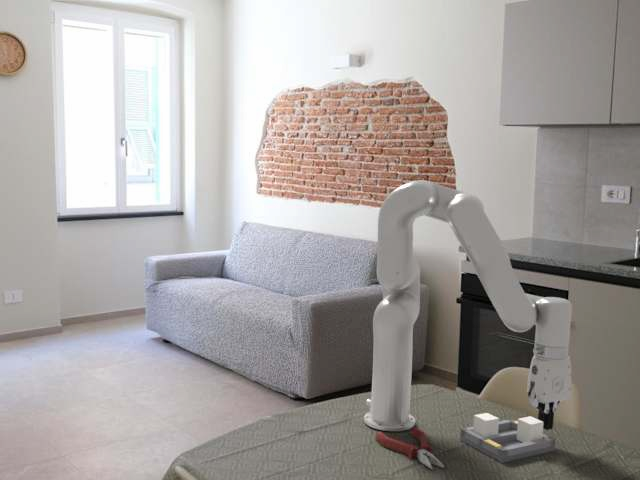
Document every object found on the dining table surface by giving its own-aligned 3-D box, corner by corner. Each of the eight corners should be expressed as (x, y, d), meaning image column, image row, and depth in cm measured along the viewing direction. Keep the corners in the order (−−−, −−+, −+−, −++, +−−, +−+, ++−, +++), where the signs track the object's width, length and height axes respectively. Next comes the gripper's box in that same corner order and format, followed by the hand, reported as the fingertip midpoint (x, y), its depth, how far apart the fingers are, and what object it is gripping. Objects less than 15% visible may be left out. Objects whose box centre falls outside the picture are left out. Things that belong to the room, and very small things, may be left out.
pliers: (414, 476, 155) (414, 464, 154) (373, 440, 173) (373, 429, 173) (461, 470, 159) (462, 458, 159) (416, 435, 177) (417, 425, 177)
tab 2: (516, 439, 172) (518, 418, 172) (529, 436, 174) (530, 416, 173) (529, 445, 169) (530, 424, 168) (542, 442, 171) (543, 421, 170)
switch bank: (460, 439, 174) (460, 428, 174) (510, 429, 182) (511, 418, 182) (502, 462, 162) (502, 450, 162) (554, 450, 170) (555, 438, 170)
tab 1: (472, 435, 173) (474, 415, 173) (485, 433, 175) (487, 412, 175) (484, 442, 170) (485, 421, 169) (497, 439, 172) (499, 418, 171)
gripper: (539, 359, 164) (533, 438, 167) (586, 352, 172) (580, 428, 174) (515, 350, 171) (509, 427, 173) (561, 344, 178) (555, 417, 180)
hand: (545, 427), depth 174 cm, fingers closed
